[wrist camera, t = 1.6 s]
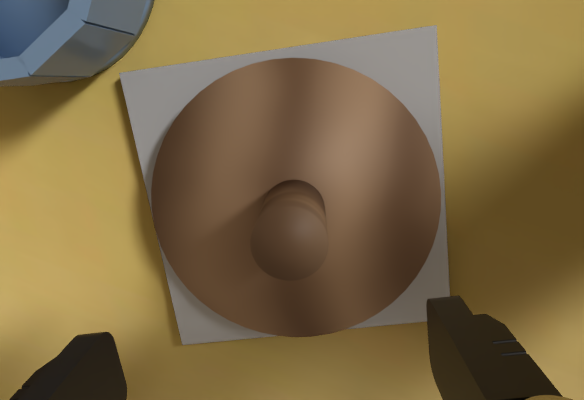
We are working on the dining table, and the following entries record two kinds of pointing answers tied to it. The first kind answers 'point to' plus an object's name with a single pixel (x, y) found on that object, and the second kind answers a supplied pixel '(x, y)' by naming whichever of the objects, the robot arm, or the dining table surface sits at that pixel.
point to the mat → (347, 52)
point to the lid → (296, 197)
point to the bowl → (66, 38)
